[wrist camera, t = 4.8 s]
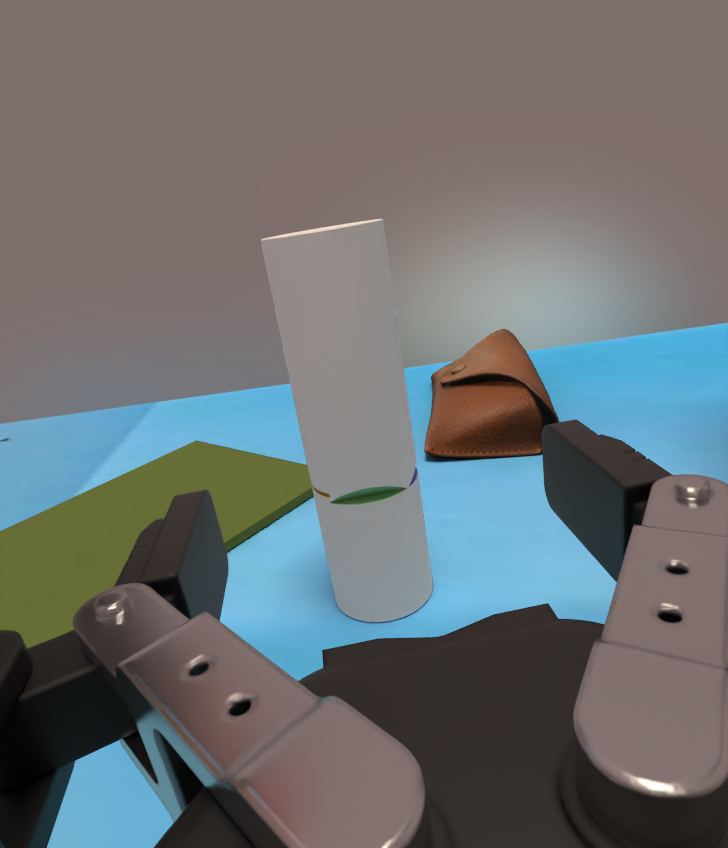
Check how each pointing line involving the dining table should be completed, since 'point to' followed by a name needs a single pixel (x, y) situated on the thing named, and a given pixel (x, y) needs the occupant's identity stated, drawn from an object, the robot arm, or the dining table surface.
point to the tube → (353, 413)
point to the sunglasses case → (489, 403)
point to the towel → (131, 529)
